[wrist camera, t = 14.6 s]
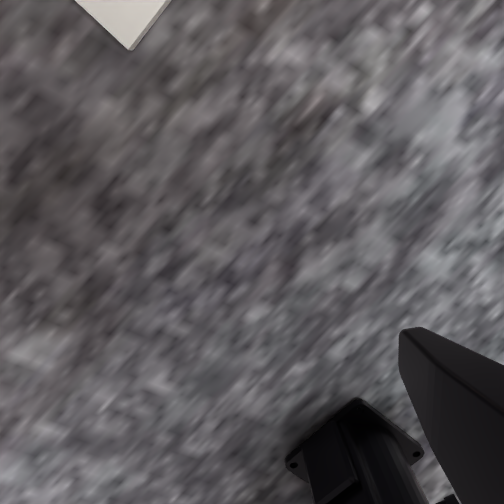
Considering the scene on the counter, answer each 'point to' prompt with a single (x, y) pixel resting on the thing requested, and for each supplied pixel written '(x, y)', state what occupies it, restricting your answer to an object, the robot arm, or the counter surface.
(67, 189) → the counter surface
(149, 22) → the board
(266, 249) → the counter surface
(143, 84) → the counter surface
